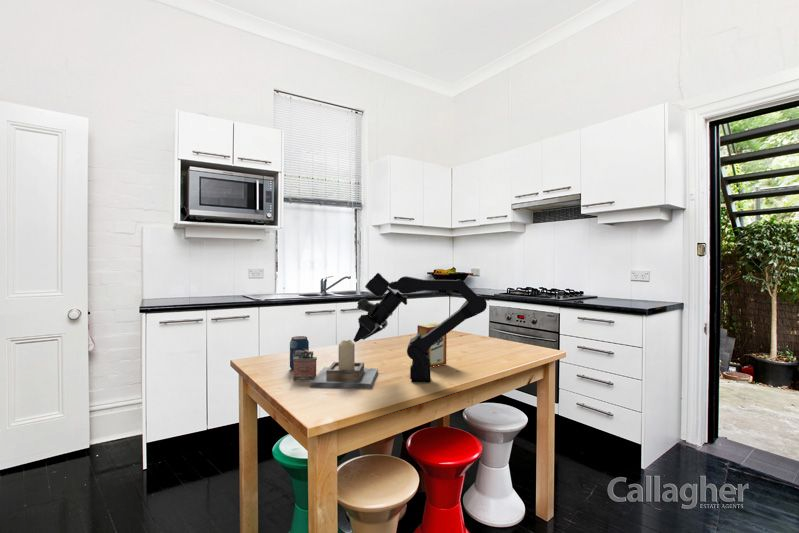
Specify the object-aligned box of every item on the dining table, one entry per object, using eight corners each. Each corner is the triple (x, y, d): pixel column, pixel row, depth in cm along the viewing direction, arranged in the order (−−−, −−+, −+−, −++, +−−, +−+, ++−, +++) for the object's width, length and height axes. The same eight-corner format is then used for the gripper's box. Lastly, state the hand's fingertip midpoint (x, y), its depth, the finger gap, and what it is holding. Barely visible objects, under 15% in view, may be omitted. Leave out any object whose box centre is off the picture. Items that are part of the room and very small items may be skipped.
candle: (351, 366, 141) (351, 338, 141) (356, 370, 136) (356, 341, 136) (336, 367, 139) (336, 339, 138) (340, 371, 133) (340, 342, 133)
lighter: (317, 377, 139) (317, 349, 139) (315, 380, 135) (315, 351, 135) (294, 377, 138) (294, 349, 138) (292, 380, 135) (292, 351, 135)
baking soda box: (427, 368, 152) (427, 326, 151) (417, 364, 157) (417, 324, 157) (446, 364, 157) (446, 324, 157) (435, 361, 162) (436, 322, 162)
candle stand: (377, 372, 145) (377, 360, 145) (371, 388, 127) (371, 374, 127) (324, 371, 147) (324, 359, 147) (309, 386, 129) (310, 373, 129)
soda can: (293, 372, 144) (293, 340, 144) (287, 368, 150) (287, 337, 150) (311, 369, 148) (311, 338, 148) (304, 365, 154) (304, 335, 154)
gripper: (377, 291, 148) (350, 323, 148) (362, 290, 129) (332, 326, 130) (399, 311, 145) (372, 343, 146) (387, 312, 127) (356, 349, 128)
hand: (358, 340), depth 138 cm, fingers open, 9 cm apart
